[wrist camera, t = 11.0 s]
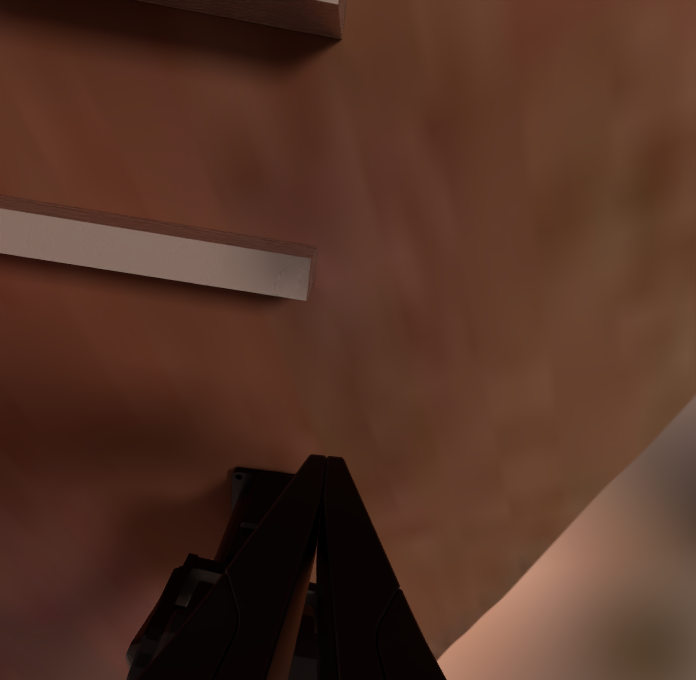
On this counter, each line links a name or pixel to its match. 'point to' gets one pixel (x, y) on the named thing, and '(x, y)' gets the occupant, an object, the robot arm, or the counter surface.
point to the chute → (167, 238)
